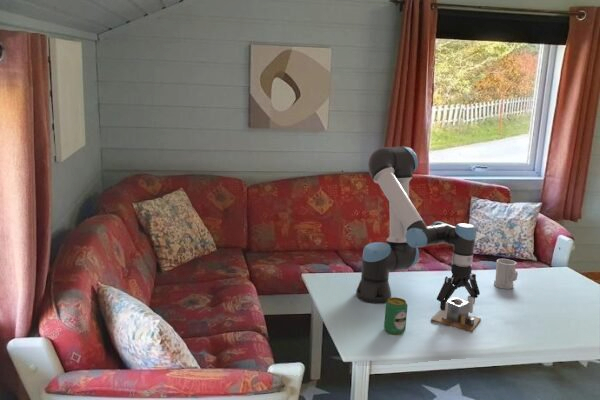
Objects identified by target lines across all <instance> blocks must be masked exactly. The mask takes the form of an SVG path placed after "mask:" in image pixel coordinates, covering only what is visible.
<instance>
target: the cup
mask: <svg viewBox="0 0 600 400" xmlns="http://www.w3.org/2000/svg"><path fill="white" fill-rule="evenodd" d="M495 266H496V269H495V280H493V281H494V282H493V285H494V287H497V288H499V289H503V290H511V289H513V288H514V286H515V284H514V282H515V281H517V278H518V276H519V275H518V271H517V270H516V268H517V262H516V261H515V260H511V259H507V258H498V259H496V265H495Z"/></svg>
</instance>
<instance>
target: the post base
mask: <svg viewBox="0 0 600 400" xmlns="http://www.w3.org/2000/svg"><path fill="white" fill-rule="evenodd" d="M462 300H463V299H462ZM462 300H461V298H459V299H454V303H456V304H458V305H459V304H461V303H462ZM440 314H441V309H440V308H439V310H438V311H437V313H436V314H435V315H434V316H433V317H432V318H431V319H430V322H432V323H435V324H439V325H442V326H446V327H451V328H453V329H458V330H461V331H465V332H469V333H473V331H475V329H476V328H477V326H478V325H479V324H480V322H481V321H482V318H481V317H478V316H472V315H469V314H468V316H469V317H471V318H474V325H471V326H470V325H468V324H465V317H466V316H465V315H461V322H460V323H455V322H453V321H451V320H448V319H444V318H442V317H441V316H440Z"/></svg>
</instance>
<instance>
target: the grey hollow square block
mask: <svg viewBox="0 0 600 400" xmlns="http://www.w3.org/2000/svg"><path fill="white" fill-rule="evenodd" d="M454 299H461V298H460V297H456V296H454V297H450V298H449V299H448V301H447V303H448V309H447V318H446V319H448V320H451V321H453V322H455V323H460V322H461V315H465V316H466V317H465V324H468V325H470V326H471V325H474V318H471V317H469V316H468V315H469V314H470V313H469V305H470V302H467V301H466V300H465V299H461V300H462V303H461V304H459V305H458V304H456V303H454Z"/></svg>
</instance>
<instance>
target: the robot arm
mask: <svg viewBox="0 0 600 400" xmlns="http://www.w3.org/2000/svg"><path fill="white" fill-rule="evenodd" d="M418 166H419V159H418V156H417V153H416V152H415V151H414V149H412V148H411V147H408V146H389V147H385V146H384V147H383V146H382V147H379V148H377V149H375V150H374V151H373V152H372V153H371V154H370V156H369V158H368V162H367V167H368V171H369V175H370V177H371V179H372V181H373V182H374V183H375V184H378V185H379V187H380V190H381V191H382V192H383V194H384V196H385V198H386V199H387V200H388V202H389V203H388V204H389V205H388V207H389V208H388V209H389V236H388V237H387V238H386V242H383V241H379V242H377V241H375V242H371V243H368V244H366V245H365V246H364V248H363V251H362V256H361V258H362V261H361V262H362V264H361V275H360V276H361V277H360V278H361V279H360V281H359V284H358V286H357V288H356V292H355V297H356V298H357V299H358V300H360V301H362V302H365V303H370V304H386V302H387V301H388V299H389V298H392V291H391V287H390V282H389V278H390V277H389V275H390V273H393V272H397V271H402V270H408V269H411V268H412V267H414V266H415V265H417V263H418V261H419V259H420V258H419V257H420V256H419V255H420V251H419V248H424V247H428V246H434V245H439V244H440V245H441V244H447V245H448V246H453V252H452V259H451V261H452V263H451V269H450V271H451V277H450V276H445V278H444V282H443V284H442V286H441V288H440V290H439V292H438V295H437V296H436V300H437V301H438V302H440V303H439V305H440V307H439V310H440V309H441V314H440V316H441V317H442V318H444V319H446V318H447V309H448V303H447V301H448V299H450V298H451V296H452V295H453V294H454V292H455V291H456V290H458V289H459V288H461V287H462V288H465V290H466V291H467V293H468V294H469V295H467V302H470V305H469V314H473V313H474V312H473V311H474V305H475V303H476V302H475V301H476V299H477V298H478V297H479V295H480V289H479V285H478V282H477V274H475V273H473V272H472V269H473V265H472V264H473V261H474V259H473V258H474V250H475V249H474V248H475V243H476V234H477V233H476V230H477V229H476V226H474V225H473V224H470V223H465V222H463V223H461V222H460V223H457V224H456V225H455V226H454V225H451V224H449V223H446V222H443V221H434V222H433V223H432V224H430V225H427V224H426V223H425V221H424V219H423V218H422V216H421V215H420V213H419V212H418V210H417V208H416V207H415V206H414V203H413V201H412V200H411V199H410V181H411V180H413V173H415V171H416V170H417V168H418Z"/></svg>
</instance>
